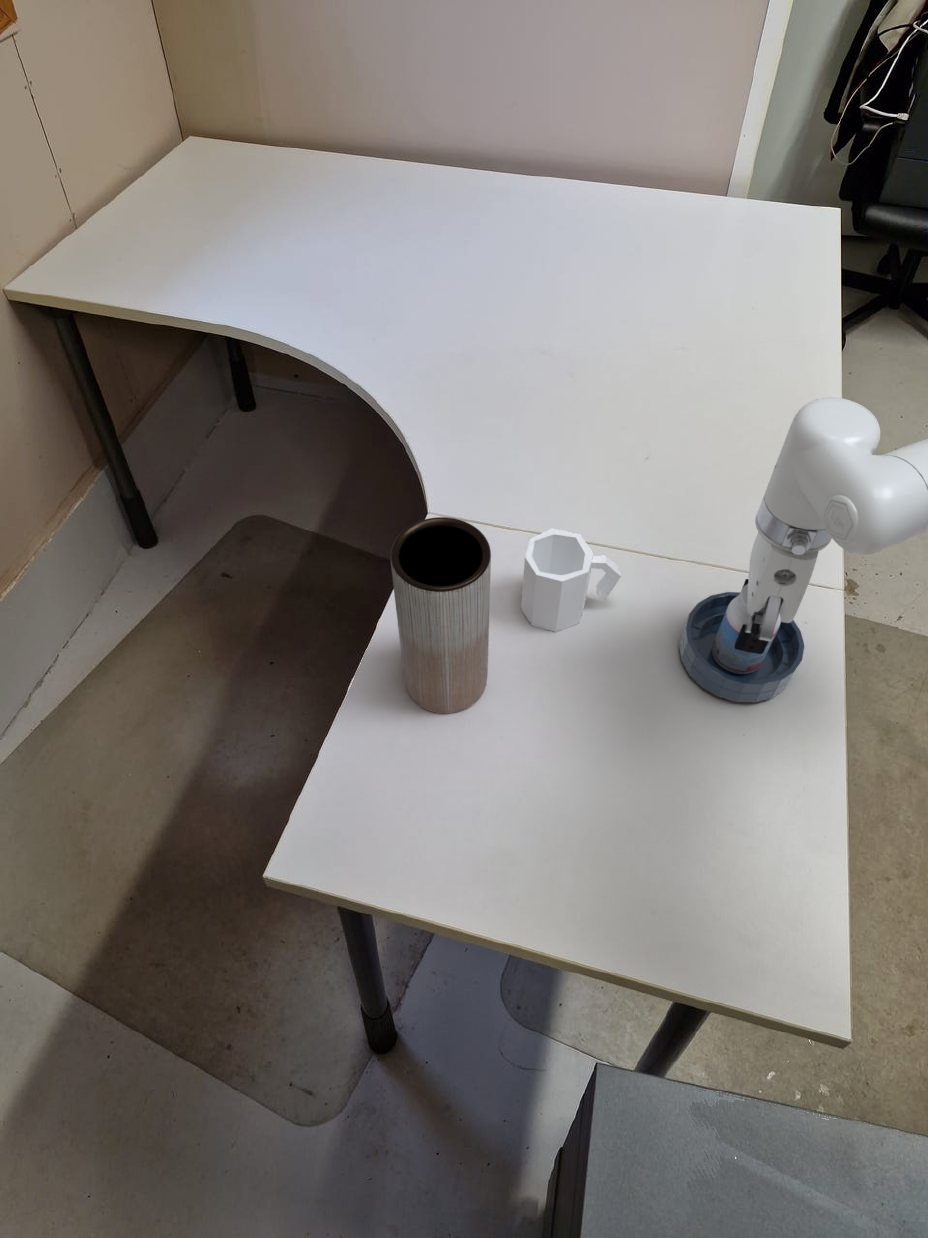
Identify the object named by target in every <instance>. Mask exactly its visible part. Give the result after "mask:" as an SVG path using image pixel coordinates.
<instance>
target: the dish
mask: <svg viewBox="0 0 928 1238" xmlns="http://www.w3.org/2000/svg"><path fill="white" fill-rule="evenodd" d="M740 592H741V591H740ZM740 592H739V591H725V592H721V593H717V594H716V593H715V594H712V595H709V596H708V597H706V598H704V599H702V600H701V601H699V602H697V603H696V604H695V606H694V607H693V608H692V610H691V611H690V612H689V614H688V616H687V619H686V622H685V625H684V627H683V631H682V634H681V638H680V641H679V655H680V660H681V662H682V664H683V666H684V668H685V670H686V672H687V673H688V675H689V676H690V677H691V678H692V679H693V680H694V681H695V682H696V683H697V684H698V685H699V686H700V687H701V689H704V690H706V691H708V692H709V693H711V694H712V695H714V696H716V697H718V698H721V699H724V700H728V701H730V702H731V701H732V702H735V703H758V702H763V701H767V700H770V699H773V698H774V697H776V696H778V695H779V694H780V693H782V692H783V691H785V690H786V688H787V686H788V685H789V683H790V682H791V680H793V677H794V676H795V674H796V672H797V670H798V669H799V666H800V665H801V663H802V661H803V659H804V658H803V657H804V650H805V642H804V639H803V635H802V631H801V629H800V627H799V626H798V624H797V623H796V621H795V620H794V619H793V620H792V621H791V622H790V623H784V622H781V623H780V626H779V629H778V631H777V633H776V635H775V637H774V639H773V641H772V643H771V645H770V648H769V650H768V652H767V654H766V656H765V658H764V660H763V662H762V664H761V666H760V667H759V668H758V669H757V670H756V671H754V672H752V673H749V674H736V673H732V672H729V671H727V670H725V669H723V668H722V667H721V666H719V665H718V664H717V662H716V661H715V659H714V657H713V654H712V646H713V643H714V641H715V638H716V635H717V633H718V630H719V628H720V625H721V623H722V620H723V618H724V615H725V612H726V610H727V608H728V605H729V604H730V602H731V601H732V600H733V599H734V598H736V597H737V596H739V594H740Z"/></svg>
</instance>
